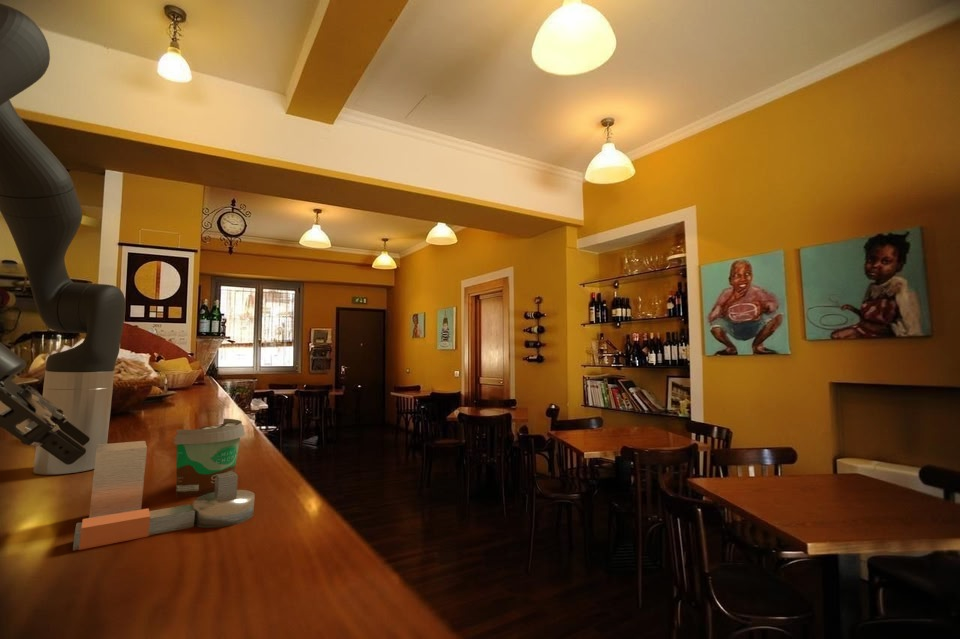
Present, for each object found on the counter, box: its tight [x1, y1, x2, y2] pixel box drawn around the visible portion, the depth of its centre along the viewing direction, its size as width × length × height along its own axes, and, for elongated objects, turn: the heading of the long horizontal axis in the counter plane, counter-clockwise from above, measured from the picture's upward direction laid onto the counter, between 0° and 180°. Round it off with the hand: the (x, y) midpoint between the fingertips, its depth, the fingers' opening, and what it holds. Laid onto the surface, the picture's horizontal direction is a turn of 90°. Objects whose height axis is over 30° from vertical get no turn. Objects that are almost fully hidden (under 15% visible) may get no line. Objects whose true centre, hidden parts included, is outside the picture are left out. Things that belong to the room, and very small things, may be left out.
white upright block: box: [88, 440, 148, 518], centre depth 56 cm, size 5×5×9 cm
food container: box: [173, 418, 246, 498], centre depth 69 cm, size 12×6×10 cm, turn 179°
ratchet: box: [72, 471, 256, 551], centre depth 54 cm, size 7×18×6 cm, turn 131°
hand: (81, 451), depth 54 cm, fingers open, 8 cm apart
